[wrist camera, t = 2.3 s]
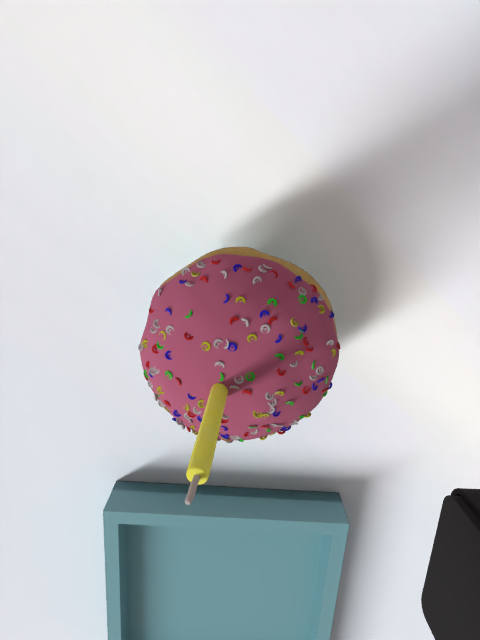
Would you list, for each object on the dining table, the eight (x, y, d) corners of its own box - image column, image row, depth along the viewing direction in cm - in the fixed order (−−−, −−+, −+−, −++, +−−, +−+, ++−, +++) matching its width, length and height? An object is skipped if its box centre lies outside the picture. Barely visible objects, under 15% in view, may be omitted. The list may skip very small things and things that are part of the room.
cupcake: (249, 418, 24) (258, 626, 12) (128, 330, 22) (6, 472, 11) (351, 307, 22) (478, 428, 10) (227, 202, 20) (209, 205, 9)
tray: (338, 492, 25) (349, 524, 23) (311, 663, 29) (318, 705, 27) (116, 480, 25) (103, 511, 22) (121, 655, 29) (110, 696, 26)
